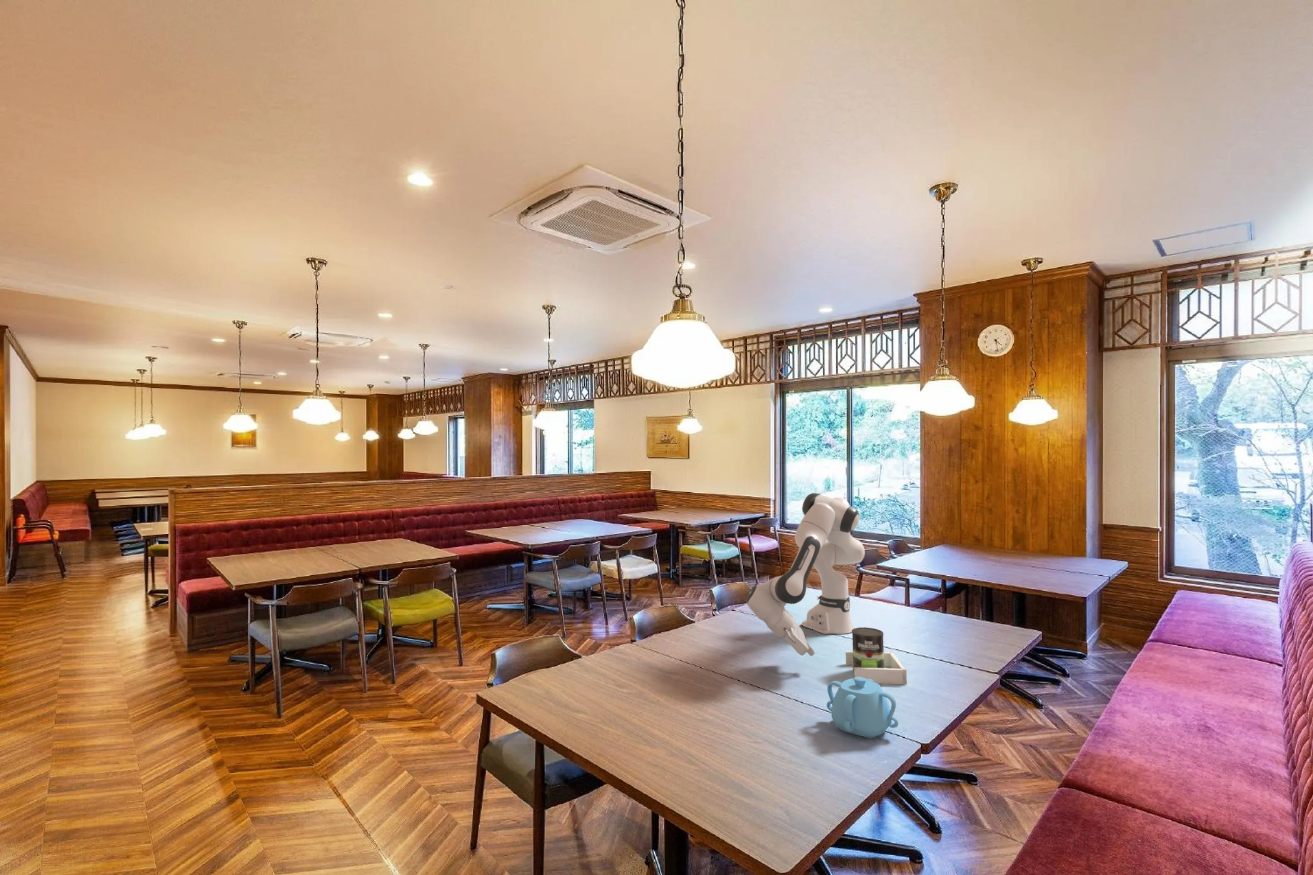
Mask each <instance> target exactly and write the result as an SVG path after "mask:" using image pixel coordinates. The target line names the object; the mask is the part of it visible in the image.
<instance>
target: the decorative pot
mask: <svg viewBox="0 0 1313 875" xmlns="http://www.w3.org/2000/svg"><path fill="white" fill-rule="evenodd" d="M833 686H837V687H838V689H837V690H836V693H835V694H834V692H833ZM826 689H827V694H828V697H829V700H828V701H827V703H826V708H827V709H828V711H829V712H831V719H832V721H833V723H834V724H835V726H836V727H837V728H838V729H840V731H842V732H844V731H846V732H845V733H849V734H853V735H856V736H860V737H864V736H865V737H864V738H866V739H868V738H873V739H875V737H877V736H880V735H882V734H884V733H885V732H886V731H887V730H888V729H889V728H892V729H894V728H897V727H898V726H899V719H897V718H896V717H894V714H895V711H896V708H897V703H896V699H895V697H894V696H893V695H891V694H890V693H888V692H885V691H884V690H883V688H882V687H881V685H880V683H875V682H874V681H873V680H872V679H865V678H862V677H853V678H849V679H846V680H844V681H843V682H842V681H841V682H840V681H839V680H834V681H830V682H829V683H828V684H827V688H826ZM889 701H890V704H891V706H890V704H889ZM892 721H893V722H892Z"/></svg>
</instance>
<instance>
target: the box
mask: <svg viewBox="0 0 1313 875" xmlns="http://www.w3.org/2000/svg"><path fill="white" fill-rule="evenodd" d="M845 665H846V666H853V650H852V651H851V650H845ZM886 667H889V668H886ZM853 673H854V677H853V678H855V677H862V678H865V679H872V680H873V681H874V682H875V683H877V684H888V685H889V684H891V685H895V684H896V685H907V684H908V678H907V675H908V673H907V668H905V667H904V665H903V664H902V662H900V660H899V659H898V657H897V656H896V655H895V654H894V652H892V651H891V652H890V651H889V652H888V651H884V668H860V667H854V672H853Z"/></svg>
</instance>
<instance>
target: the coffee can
mask: <svg viewBox="0 0 1313 875" xmlns="http://www.w3.org/2000/svg"><path fill="white" fill-rule="evenodd" d="M851 634H852V635H851V636H852V651H853V665H852V667H853V668H852V669H853V670H852V672H853V673H854V667H860V668H885V666H884V652H885V651H884V632H883V631H882V630H880V629H877V628H873V627H866V626H865V627H853V629H852V632H851Z"/></svg>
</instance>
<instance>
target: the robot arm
mask: <svg viewBox="0 0 1313 875" xmlns="http://www.w3.org/2000/svg"><path fill="white" fill-rule="evenodd" d="M801 511H802V513H803V517H802V520H800V523H799V524H798V526H797V528H796V532H795V534H794V542H795V543H796V546H797V547H798V552H797V554H796V556H795V558H794V560H793V562H792V565H791V567H790V568H789V570H788V571H787V572H785V573H784V574H783V575H778V576H775V577H773V578H771V579H770V580H768V581H766V582H763V583H759V584H755V585H753V586H752V587H751V588H750V589H749V591H748V593H747V595H746V598H745V603H746V605H747V607H748V608H749V609H750V610H751V611H752V612H753V614H754V615H755V617H757V618H758V619H759V620H761V621H762V622H764V623H765V624H766V626H767V628H768V629H769V630H770V631H771V632H772V633H773V634H774V635H775V636H776V637H777V638H778V639H780V638H782V637H783V638H784V639H785V640H786V642H787V643H788V644H789V645H790V647H792V648H793V649H794V650H795V651H796V653H797V654H799V655H800V656H802V657H803V656H804V655H805V654H806V653H807V654H808V655H809V656H810V657H813V656H814V655H815V651H814V650H815V649H814V648H812V646H810V644H809V643H808V642H807V639H806V636H805V633H804V631H803V630H802V628H801V626H802V625H803V627H805V628H807V629H811V630H812V629H813V631H815V632H818V633H821V634H825V635H826V634H833V635H834V634H835V635H840V634H841V635H842V634H843V635H844V634H851V633H852V629H854V626H853V623H852V618H851V612H850V608H851V600H850V598H851V597H850V596H849V580H848V578H847V576H845V575H844V574H843V573H841V572H839V571H837V570H835V569H834V565H854V564H859V563H862V561H863V560H864V558H865V554H866V550H865V547H864V545H863V543H862V542H861V541H860V540H858V539H856V538H855V537H854V536H853V535H851V533H852V532H853V531H854V530H855V529H856V528H857V526H858V524H859V522H860V513H859V511H858V509H856V508H855V507H854V506H851V505H850V503H849V501H848V500H846V499H844V498H842V497H833V498H831V497H828V496H825V495H821V494H820V493H816V492H811V493H810V494H808V495H806V497H805V498H804V500H803V503H802V508H801ZM813 567H814V569H815V570H816V572H817V574H818V575H819V576H818V577H819V579H820V584H821V595H819V596H817V597H816V598H817V599H816V600H818V603H817V604H816V605H814V606H812V608H810V609H809V610H808V611H807V613H806V620H803V621H801V624H800V625H801V626H800V625H799V624H798V623H797V622H796V621H797V620H796V618H795V617H794V615H792V614H791V613H790V612H789V611H788V610H787V609H786V608H785V606H786V605H787V604H788V605H794V604H798V603H800V602H801V601H803V599H804V598H805V595H806V592H807V582H808V578H809V576H810V572H811V571H812V568H813Z"/></svg>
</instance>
